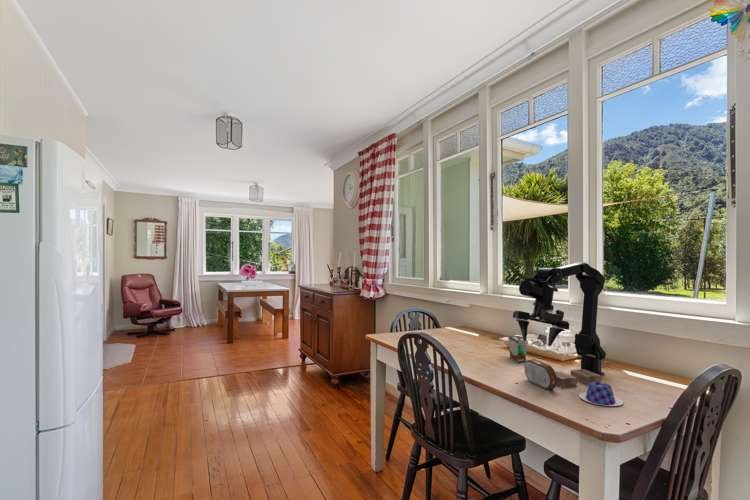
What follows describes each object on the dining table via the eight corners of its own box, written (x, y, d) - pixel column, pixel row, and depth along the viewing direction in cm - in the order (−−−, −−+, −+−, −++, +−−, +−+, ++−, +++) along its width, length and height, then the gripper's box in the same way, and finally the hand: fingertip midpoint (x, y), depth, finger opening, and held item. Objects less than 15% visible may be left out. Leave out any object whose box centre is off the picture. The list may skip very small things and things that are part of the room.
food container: (533, 364, 158) (532, 340, 158) (518, 364, 158) (518, 340, 158) (522, 356, 170) (521, 335, 171) (508, 356, 170) (508, 335, 171)
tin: (558, 392, 124) (557, 367, 124) (550, 393, 123) (549, 367, 124) (530, 378, 139) (529, 356, 139) (523, 379, 138) (522, 356, 138)
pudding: (583, 391, 125) (582, 376, 125) (625, 399, 118) (624, 383, 118) (575, 402, 116) (574, 385, 116) (620, 411, 108) (620, 393, 109)
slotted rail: (584, 377, 140) (583, 369, 140) (601, 383, 132) (600, 375, 132) (547, 380, 136) (546, 372, 136) (562, 387, 128) (562, 378, 129)
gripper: (528, 295, 127) (520, 340, 125) (581, 307, 127) (574, 352, 125) (515, 295, 138) (508, 337, 136) (564, 306, 138) (558, 348, 136)
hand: (536, 343), depth 133 cm, fingers open, 9 cm apart
